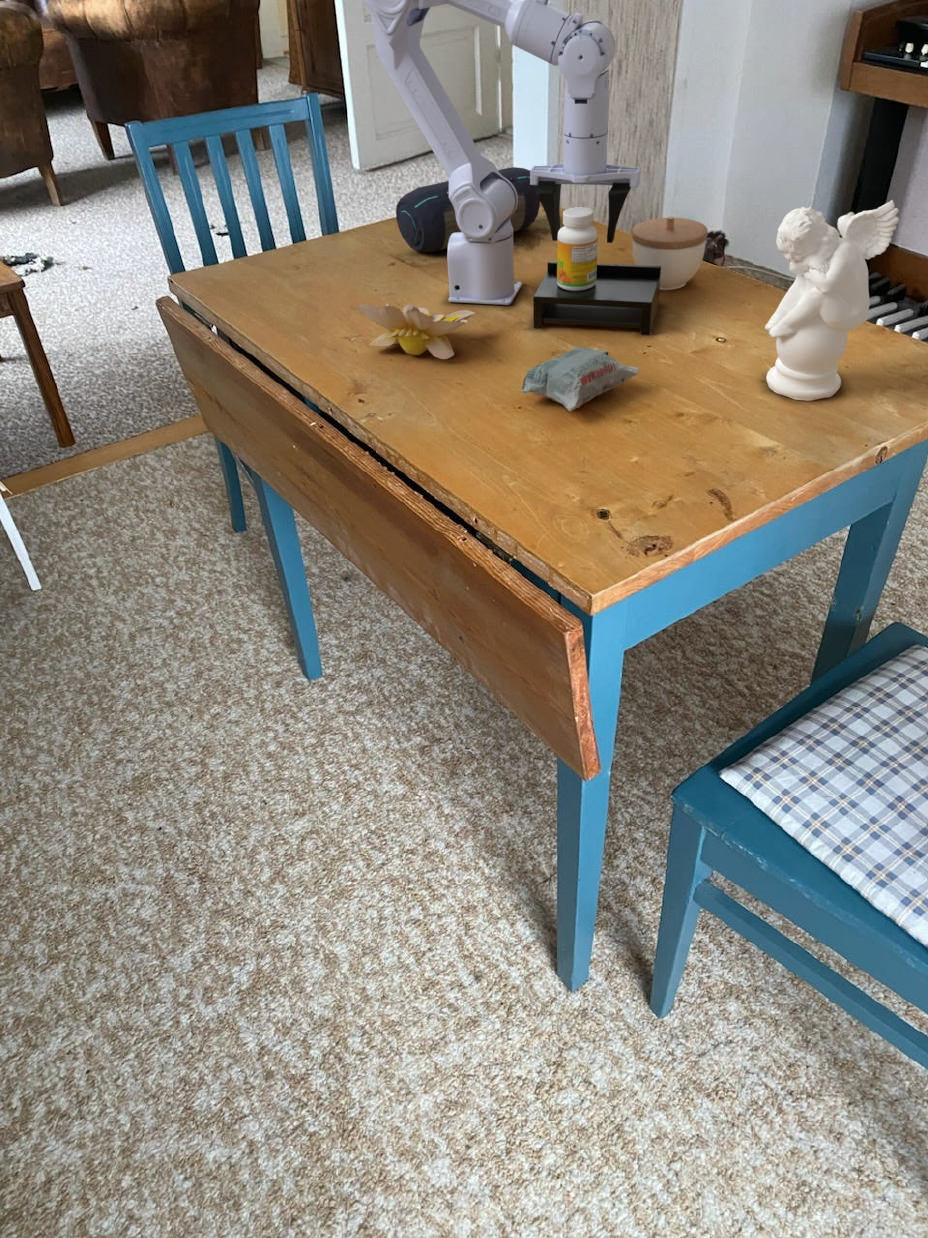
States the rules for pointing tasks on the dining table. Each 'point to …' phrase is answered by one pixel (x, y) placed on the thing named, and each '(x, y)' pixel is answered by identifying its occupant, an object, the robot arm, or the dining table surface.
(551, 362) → the packaged food
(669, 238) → the trinket box
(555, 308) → the black lipped tray
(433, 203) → the portable speaker
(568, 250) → the supplement bottle
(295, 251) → the dining table surface
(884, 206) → the cherub figurine
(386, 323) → the decorative flower
